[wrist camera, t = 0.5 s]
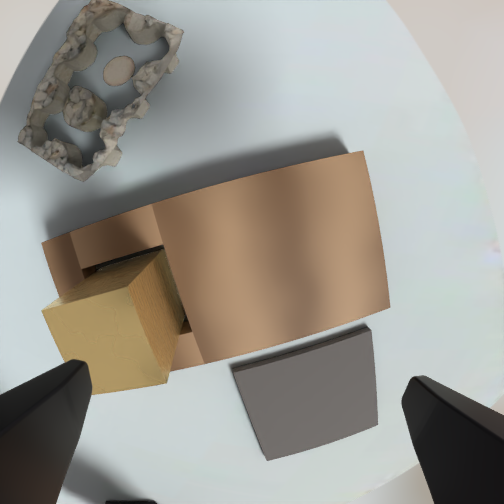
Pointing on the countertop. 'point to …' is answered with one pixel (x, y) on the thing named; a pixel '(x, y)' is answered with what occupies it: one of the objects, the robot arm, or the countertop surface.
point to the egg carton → (84, 101)
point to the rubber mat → (311, 394)
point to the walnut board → (251, 256)
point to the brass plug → (121, 323)
